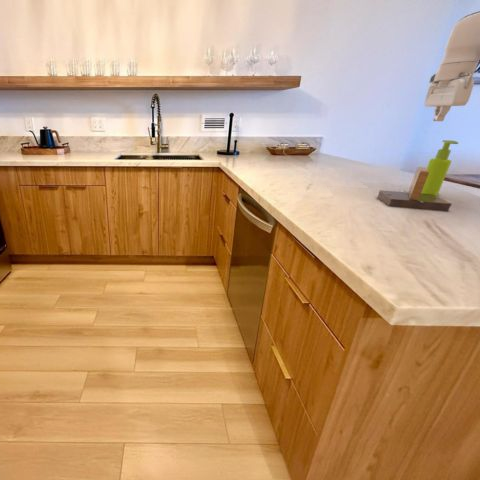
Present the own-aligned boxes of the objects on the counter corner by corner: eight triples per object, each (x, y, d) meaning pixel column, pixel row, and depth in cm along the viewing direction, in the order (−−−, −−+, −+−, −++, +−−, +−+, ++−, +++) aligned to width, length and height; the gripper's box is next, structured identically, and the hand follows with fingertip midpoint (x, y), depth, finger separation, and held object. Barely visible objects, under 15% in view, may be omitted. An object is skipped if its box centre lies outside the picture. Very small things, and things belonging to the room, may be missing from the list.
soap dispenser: (424, 196, 109) (446, 141, 100) (414, 191, 115) (434, 139, 106) (442, 197, 107) (466, 141, 99) (431, 192, 113) (452, 139, 105)
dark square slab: (427, 201, 103) (431, 192, 102) (450, 214, 90) (454, 204, 89) (375, 196, 108) (378, 188, 107) (390, 208, 95) (393, 199, 94)
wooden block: (408, 192, 103) (417, 166, 99) (415, 193, 101) (426, 166, 98) (409, 199, 95) (420, 171, 91) (418, 200, 93) (429, 172, 89)
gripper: (487, 70, 82) (467, 122, 87) (450, 77, 99) (435, 120, 105) (459, 71, 84) (441, 122, 89) (427, 78, 101) (414, 120, 107)
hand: (437, 121), depth 97 cm, fingers closed
